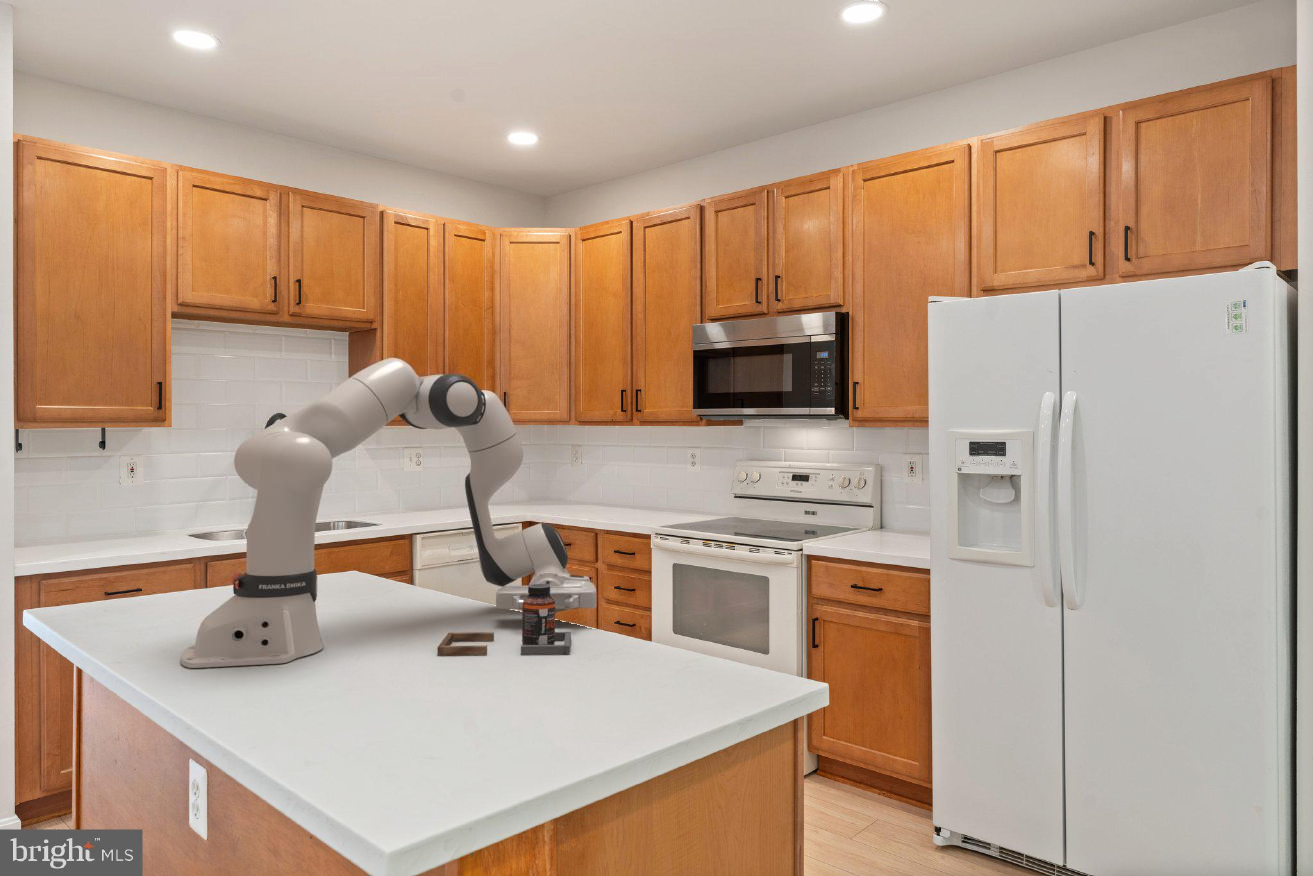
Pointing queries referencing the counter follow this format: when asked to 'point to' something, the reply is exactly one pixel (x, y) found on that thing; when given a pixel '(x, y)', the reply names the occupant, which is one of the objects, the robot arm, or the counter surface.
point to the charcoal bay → (550, 646)
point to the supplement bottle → (538, 616)
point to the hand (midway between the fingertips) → (544, 605)
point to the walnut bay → (448, 650)
